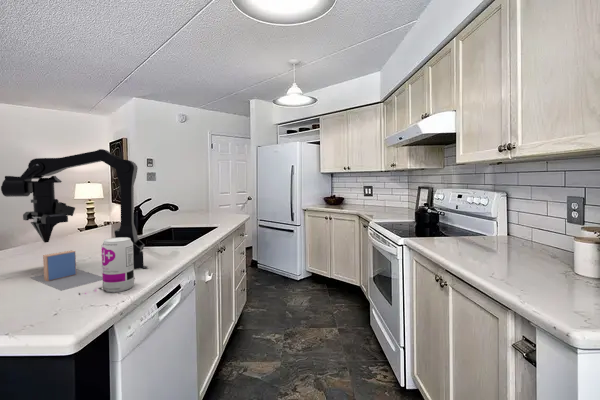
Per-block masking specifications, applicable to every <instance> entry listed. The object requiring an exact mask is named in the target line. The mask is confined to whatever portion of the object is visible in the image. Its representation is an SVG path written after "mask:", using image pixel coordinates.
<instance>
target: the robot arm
mask: <svg viewBox="0 0 600 400" xmlns="http://www.w3.org/2000/svg"><path fill="white" fill-rule="evenodd" d="M100 162H103V163H104V164H105V165H108V166H109V167H110V168H113V169H115V172H116V176H117V180H118V182H119V186H120V226H119V228H117V229H116V230H114V238H118V237H128V238H131V241H132V242H133V259H134V270H137V269H142V270H146V269H148V266H145V265H144V252H143V250H144V247H145V243H144V242H142V241H141V240H140V239H139V238H138V232H137V229H136V226H135V221H134V220H135V209H134V205H135V200H134V199H135V197H134V194H135V193H134V192H135V191H134V187H135V186H134V185H135V182H136V178H137V175H138V174H137V173H138V169H139V168H138V164H136V162H134V161H133V160H128V159H123V158H121V157H120V156H118V155H115V154H114V153H112V152H110V151H109V150H107V149H102V148H99V149H97V150H93V151H88V152H82V153H79V154H73V155H68V156H63V157H38V158H33V159H31V160H30V161H29V162H28V165H27V168H26V169H25V171H24V172H23V173H22V174H21V175H20V176H15V175H5V176H4V180H3V181H2V183H1V186H0V190H1V194H2V195H3V196H4V197H6V198H7V197H16V198H17V197H29V196H30V195H31V194H32V199H30V203H33V204H32V205H33V210H32V211H31V210H30V211H25V212H24V213H23V214H22V219H23V221H29V220H32V221H31V222H30V224H31V225H32V226H33V228H34V229H35V230H36V232H37V234H38V235H39V236H40V238H41V239H42V241H43V242H44V243H50V239H51V236H52V233H53V230H54V227H55V226H56V225H57V224H63V223H68V222H69V216H70V217H73V216H74V213H75V210H76V207H74V206H71V205H67V203H65V202H61V201H59V199H58V198H56V193H55V184H59V183H61V184H62V182H63V181H62V180H61V179H60V178H58V177H57V176H56V174H58V173H60V172H63V171H65V170H67V169H70V168H76V167H81V166H86V165H91V164H97V163H100Z"/></svg>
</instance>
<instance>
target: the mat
mask: <svg viewBox="0 0 600 400" xmlns="http://www.w3.org/2000/svg"><path fill="white" fill-rule="evenodd" d="M29 279H30V280H31V279H32V280H34V281H36V282H39V283H42V284H44V285H46V286H49V287H51V288H53V289H56V290H58V291H65V290H69V289H73V288H77V287H80V286H85V285H88V284H89V285H90V284H93V283H97V282H100V281H103V276H100V275H98V274H96V273H95V274H94V273H93V272H89V271H85V270H82V269H80V268H76V275H73V276H69V277H64V278H60V279H56V280H51V281H45V280H44V274H40V275H35V276H31V277H29Z"/></svg>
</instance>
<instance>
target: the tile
mask: <svg viewBox="0 0 600 400" xmlns="http://www.w3.org/2000/svg"><path fill="white" fill-rule="evenodd" d="M76 257H77V255H76V250H73V249H70V250H65V251H59V252H54V253H48V254H42V259H43V261H42V262H43V263H42V264H43V275H44V280H45V281H51V280H56V279H60V278H64V277H69V276H73V275H76V269H77V262H76Z"/></svg>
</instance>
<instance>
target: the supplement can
mask: <svg viewBox="0 0 600 400" xmlns="http://www.w3.org/2000/svg"><path fill="white" fill-rule="evenodd" d="M101 268H102V269H101V270H102V272H101V273H102V277H103V280H102V290H105V291H106V292H107V293H119V292H124V291H127V290H129V289H131V288H132V287H134V285H135V272H134V271H135V269H134V259H133V242H132V241H131V238H128V237H118V238H115V237H110V238H106V239H104V240H103V242H102V243H101Z"/></svg>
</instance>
